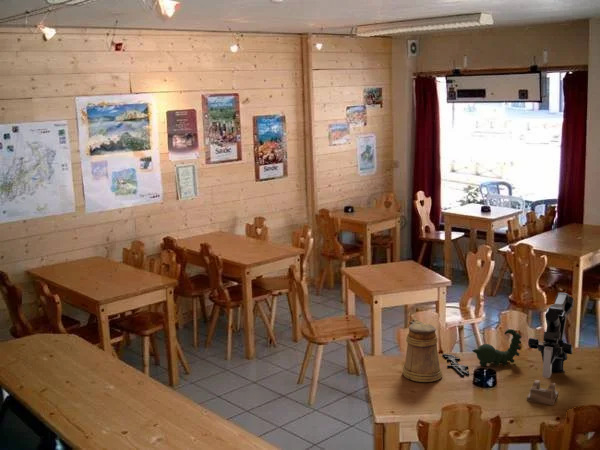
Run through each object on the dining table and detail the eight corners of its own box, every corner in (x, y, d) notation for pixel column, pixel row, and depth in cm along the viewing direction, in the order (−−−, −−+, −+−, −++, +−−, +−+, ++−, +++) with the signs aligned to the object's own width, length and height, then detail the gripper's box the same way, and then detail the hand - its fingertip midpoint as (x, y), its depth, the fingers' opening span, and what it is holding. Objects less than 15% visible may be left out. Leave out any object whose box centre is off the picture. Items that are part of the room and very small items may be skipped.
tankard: (412, 385, 331) (413, 334, 326) (393, 366, 354) (393, 318, 349) (448, 380, 336) (449, 330, 331) (426, 362, 358) (427, 314, 353)
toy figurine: (511, 362, 361) (465, 363, 355) (516, 326, 358) (470, 326, 352) (521, 369, 352) (474, 370, 346) (526, 332, 349) (479, 332, 343)
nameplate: (435, 354, 365) (453, 352, 367) (435, 357, 365) (453, 355, 367) (457, 375, 339) (477, 373, 341) (457, 378, 339) (477, 376, 341)
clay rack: (532, 389, 325) (533, 378, 324) (557, 394, 319) (558, 383, 318) (527, 400, 314) (527, 388, 313) (553, 405, 309) (553, 393, 308)
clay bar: (544, 373, 326) (545, 346, 323) (551, 374, 325) (552, 347, 322) (542, 376, 322) (544, 349, 319) (549, 378, 321) (551, 350, 318)
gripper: (529, 320, 326) (523, 351, 319) (573, 326, 318) (567, 358, 310) (532, 331, 335) (526, 362, 328) (574, 337, 326) (569, 369, 319)
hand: (547, 363), depth 321 cm, fingers closed on clay bar, 3 cm apart
